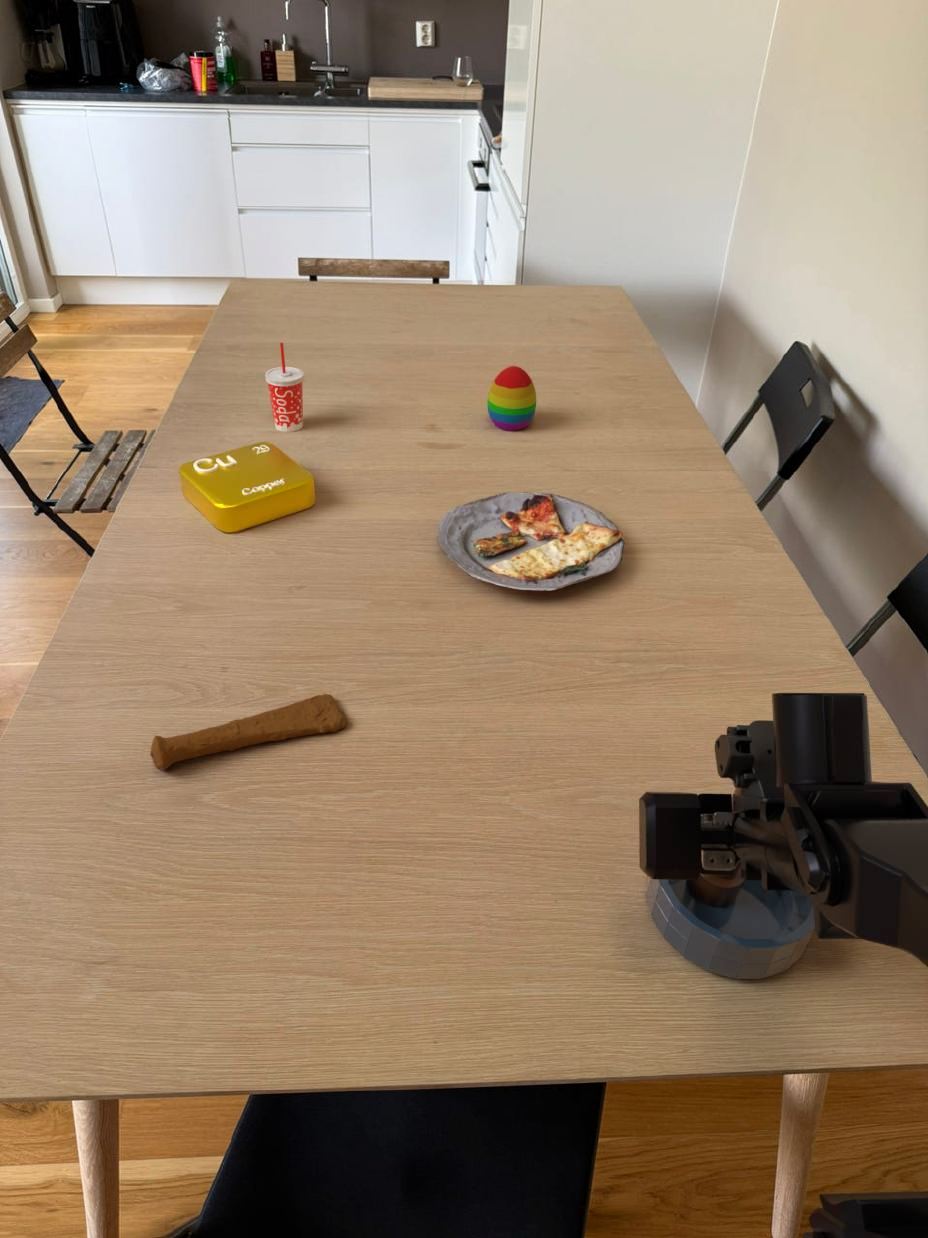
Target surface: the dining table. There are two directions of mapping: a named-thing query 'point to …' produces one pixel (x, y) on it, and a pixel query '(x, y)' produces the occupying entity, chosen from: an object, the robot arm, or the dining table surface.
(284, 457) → the element tile
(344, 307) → the dining table surface
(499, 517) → the food plate
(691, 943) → the bowl
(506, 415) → the decorative egg
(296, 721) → the primitive tool
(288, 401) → the beverage cup
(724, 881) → the pestle
